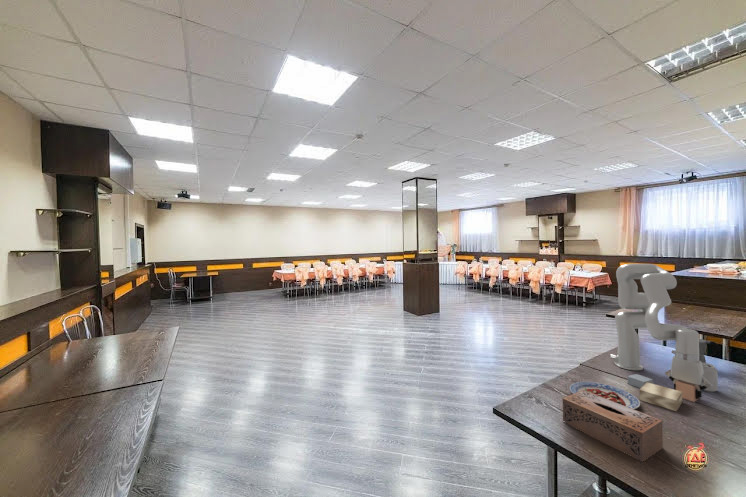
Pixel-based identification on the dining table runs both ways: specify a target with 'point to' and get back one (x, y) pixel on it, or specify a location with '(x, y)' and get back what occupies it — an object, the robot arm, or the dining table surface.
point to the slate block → (638, 380)
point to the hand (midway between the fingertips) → (687, 394)
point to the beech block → (661, 396)
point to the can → (710, 376)
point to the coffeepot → (703, 347)
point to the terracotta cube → (686, 390)
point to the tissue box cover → (614, 424)
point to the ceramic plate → (607, 393)
